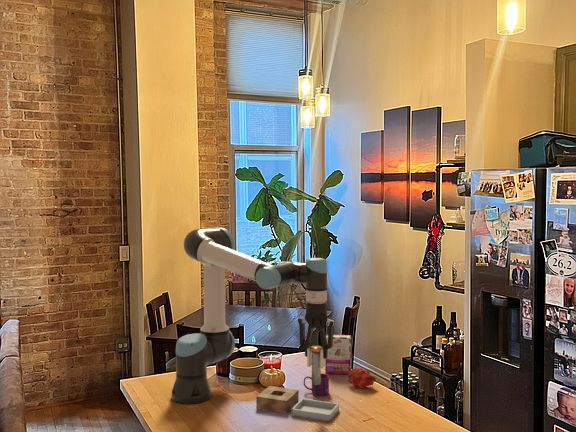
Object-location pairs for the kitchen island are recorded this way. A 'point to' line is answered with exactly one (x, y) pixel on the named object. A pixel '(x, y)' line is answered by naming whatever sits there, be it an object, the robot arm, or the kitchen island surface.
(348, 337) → the candy bar box
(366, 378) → the dragon fruit
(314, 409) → the tray
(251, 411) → the kitchen island surface
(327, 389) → the mug
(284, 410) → the socket block
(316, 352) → the pin
